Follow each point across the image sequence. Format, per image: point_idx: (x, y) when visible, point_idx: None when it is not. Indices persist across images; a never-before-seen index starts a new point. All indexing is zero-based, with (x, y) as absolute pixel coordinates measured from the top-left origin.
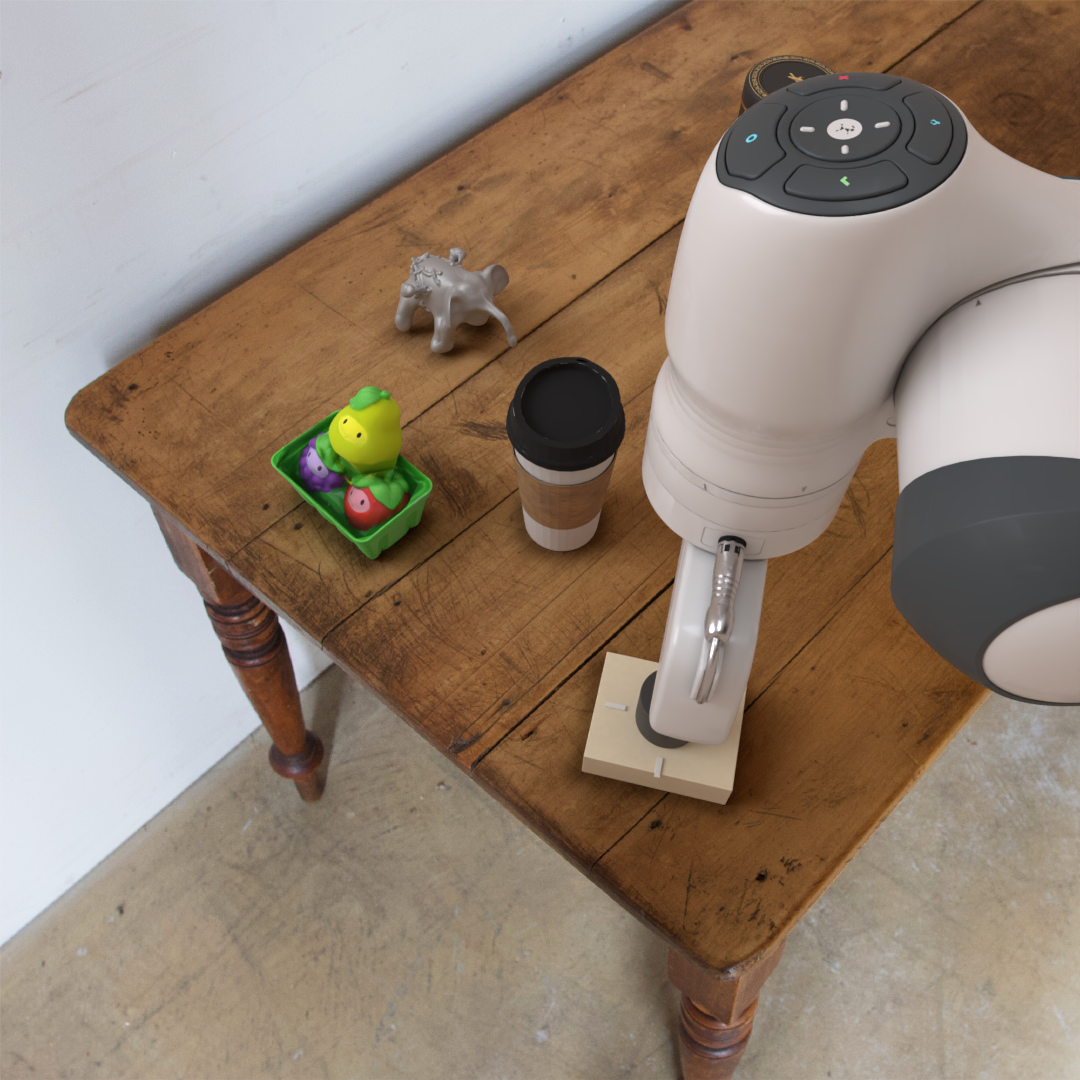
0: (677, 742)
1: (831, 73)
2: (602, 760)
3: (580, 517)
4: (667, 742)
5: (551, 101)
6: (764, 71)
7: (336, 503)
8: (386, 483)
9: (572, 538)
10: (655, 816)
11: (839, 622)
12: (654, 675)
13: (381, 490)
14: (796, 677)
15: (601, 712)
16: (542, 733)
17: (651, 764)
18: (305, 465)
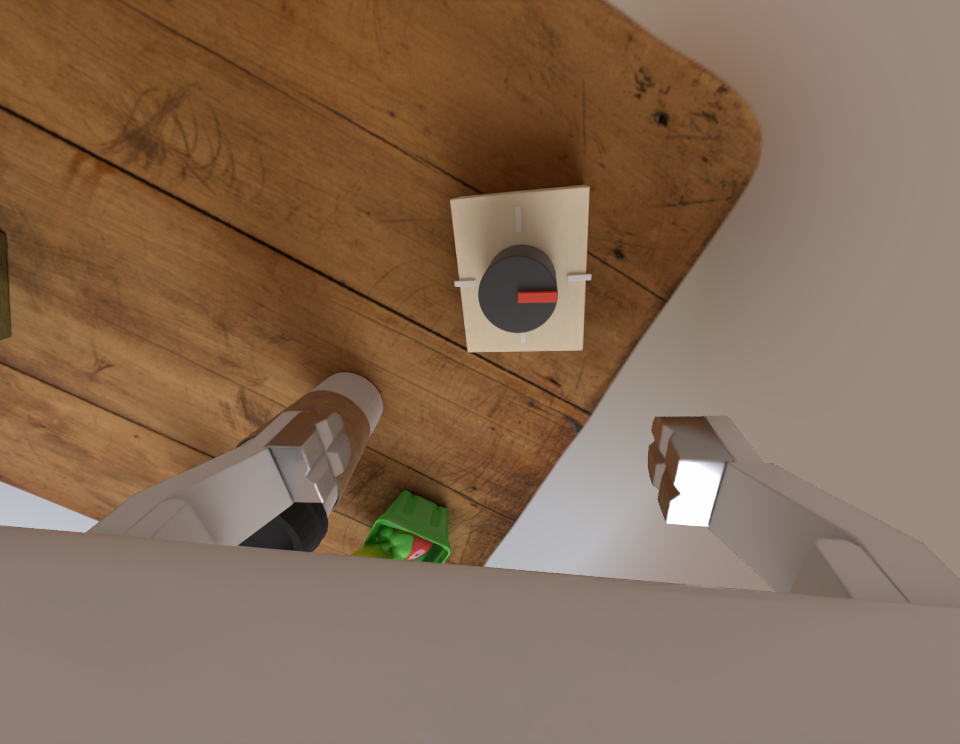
0: (553, 268)
1: None
2: (582, 332)
3: (349, 415)
4: (556, 279)
5: (8, 481)
6: None
7: (422, 558)
8: (394, 546)
9: (367, 398)
10: (610, 256)
11: (321, 91)
12: (496, 323)
13: (403, 552)
14: (410, 133)
15: (532, 344)
16: (550, 372)
17: (577, 285)
18: None
